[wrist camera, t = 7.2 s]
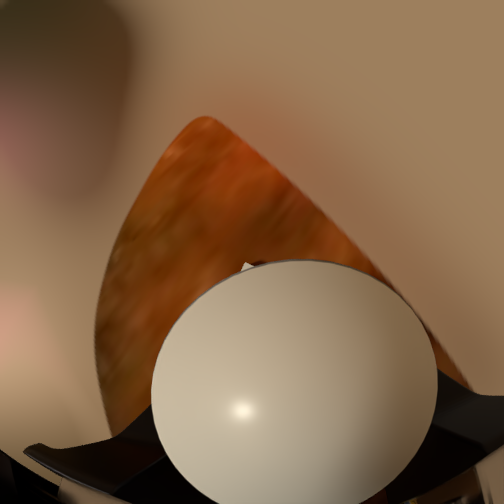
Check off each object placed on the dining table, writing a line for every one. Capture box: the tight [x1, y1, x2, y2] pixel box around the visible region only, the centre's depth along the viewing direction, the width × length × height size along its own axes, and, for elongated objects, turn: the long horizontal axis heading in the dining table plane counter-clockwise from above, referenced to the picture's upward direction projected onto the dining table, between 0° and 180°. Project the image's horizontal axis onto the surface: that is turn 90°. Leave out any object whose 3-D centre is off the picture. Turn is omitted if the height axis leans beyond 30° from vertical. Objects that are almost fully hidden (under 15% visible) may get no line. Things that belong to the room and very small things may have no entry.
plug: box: [151, 259, 438, 504], centre depth 9 cm, size 4×4×13 cm
